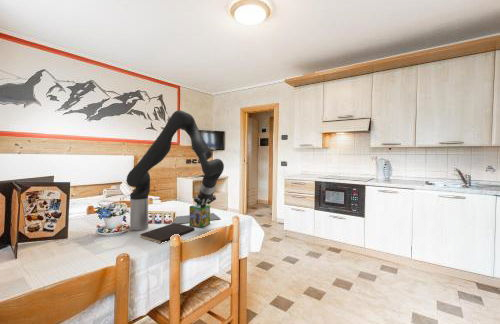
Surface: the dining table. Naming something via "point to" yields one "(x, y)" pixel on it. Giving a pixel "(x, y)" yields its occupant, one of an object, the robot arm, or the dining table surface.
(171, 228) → the hardcover book
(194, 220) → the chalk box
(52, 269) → the dining table surface
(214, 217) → the charcoal mat
